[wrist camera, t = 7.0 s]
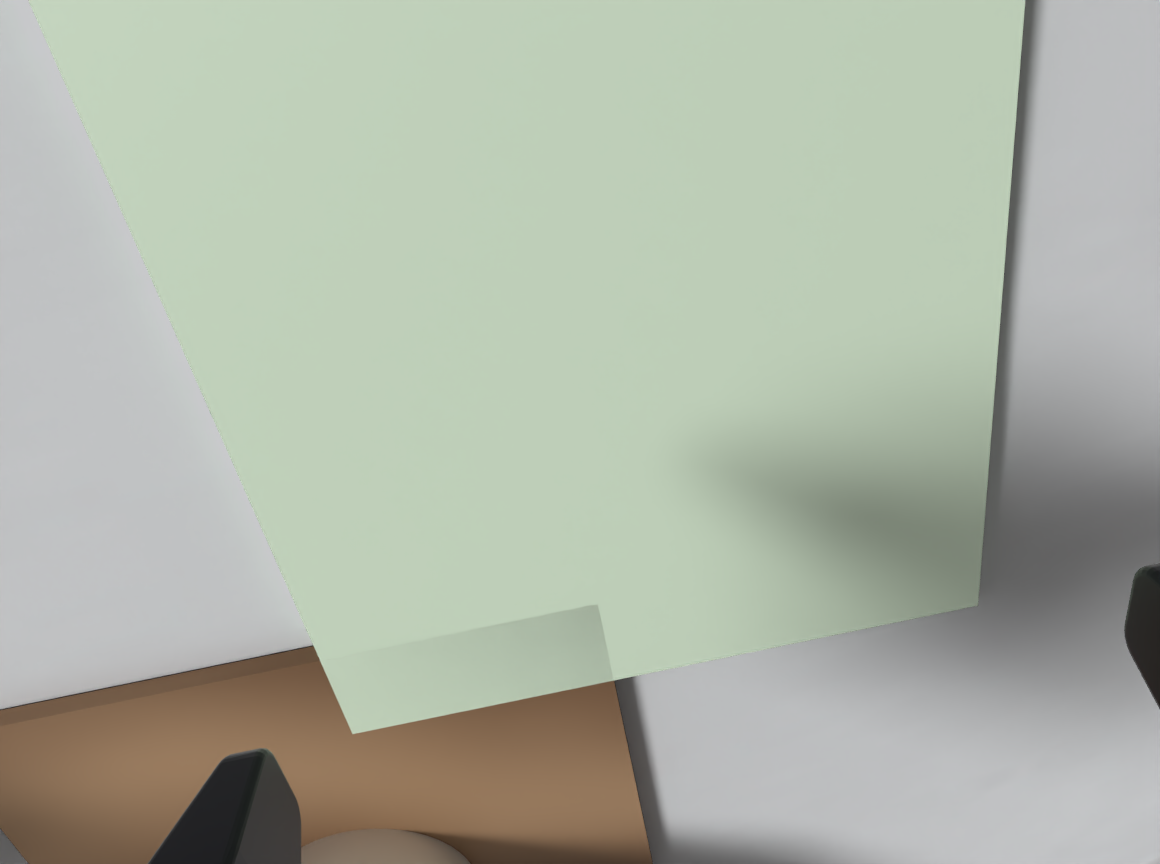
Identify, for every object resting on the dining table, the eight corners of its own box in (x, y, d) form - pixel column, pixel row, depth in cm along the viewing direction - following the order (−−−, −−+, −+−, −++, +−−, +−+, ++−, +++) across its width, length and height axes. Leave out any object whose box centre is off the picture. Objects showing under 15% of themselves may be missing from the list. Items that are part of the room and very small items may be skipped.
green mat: (968, 591, 19) (978, 605, 19) (354, 717, 19) (352, 734, 19) (1031, -297, 12) (1048, -298, 11) (2, -92, 12) (-10, -87, 11)
